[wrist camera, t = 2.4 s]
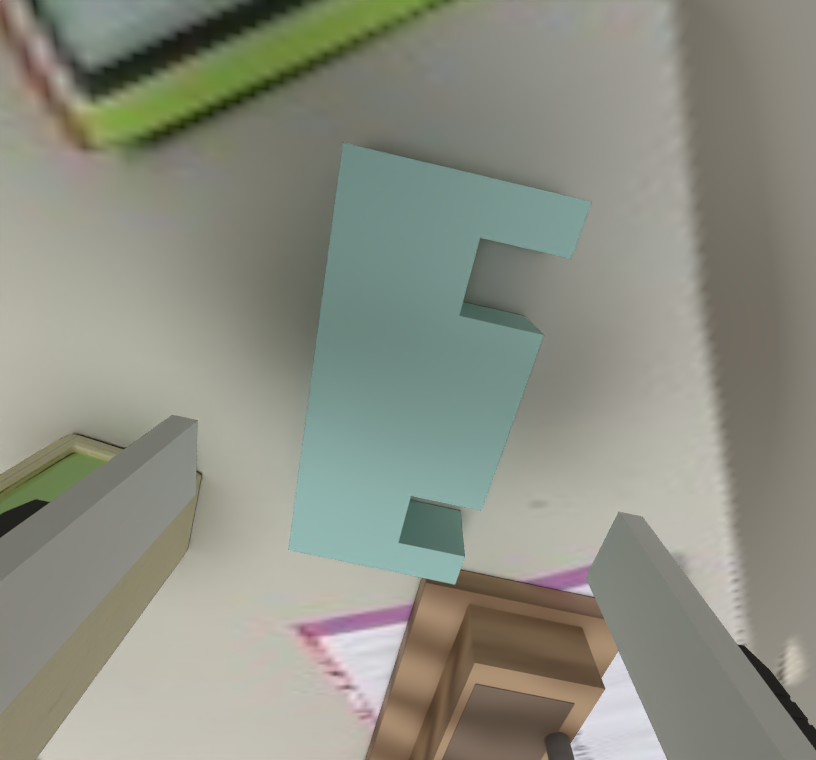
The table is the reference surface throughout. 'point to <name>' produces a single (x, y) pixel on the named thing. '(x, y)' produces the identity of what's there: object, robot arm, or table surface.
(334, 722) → the table surface
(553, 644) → the brown piece
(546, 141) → the table surface
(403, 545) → the mint green notched block
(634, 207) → the table surface
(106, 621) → the toy refrigerator
